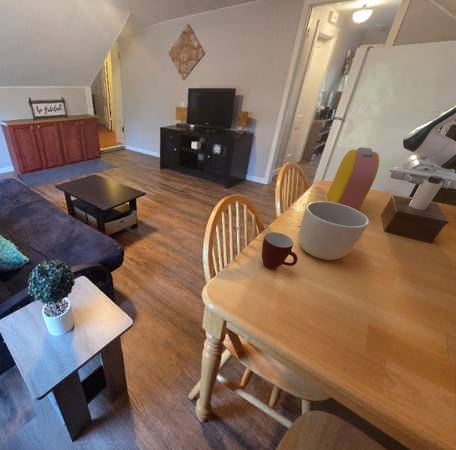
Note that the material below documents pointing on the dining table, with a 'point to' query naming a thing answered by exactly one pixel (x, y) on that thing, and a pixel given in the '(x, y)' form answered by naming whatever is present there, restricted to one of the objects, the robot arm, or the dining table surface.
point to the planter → (331, 229)
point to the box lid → (418, 210)
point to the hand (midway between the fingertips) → (428, 183)
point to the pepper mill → (426, 192)
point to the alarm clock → (354, 178)
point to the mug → (277, 250)
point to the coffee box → (409, 225)
